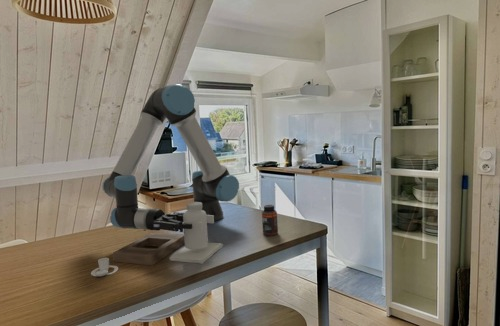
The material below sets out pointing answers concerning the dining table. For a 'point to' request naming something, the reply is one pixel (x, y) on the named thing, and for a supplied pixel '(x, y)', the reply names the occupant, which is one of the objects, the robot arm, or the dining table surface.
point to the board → (196, 253)
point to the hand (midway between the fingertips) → (207, 222)
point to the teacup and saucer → (103, 268)
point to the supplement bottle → (269, 220)
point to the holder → (149, 256)
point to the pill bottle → (195, 237)
